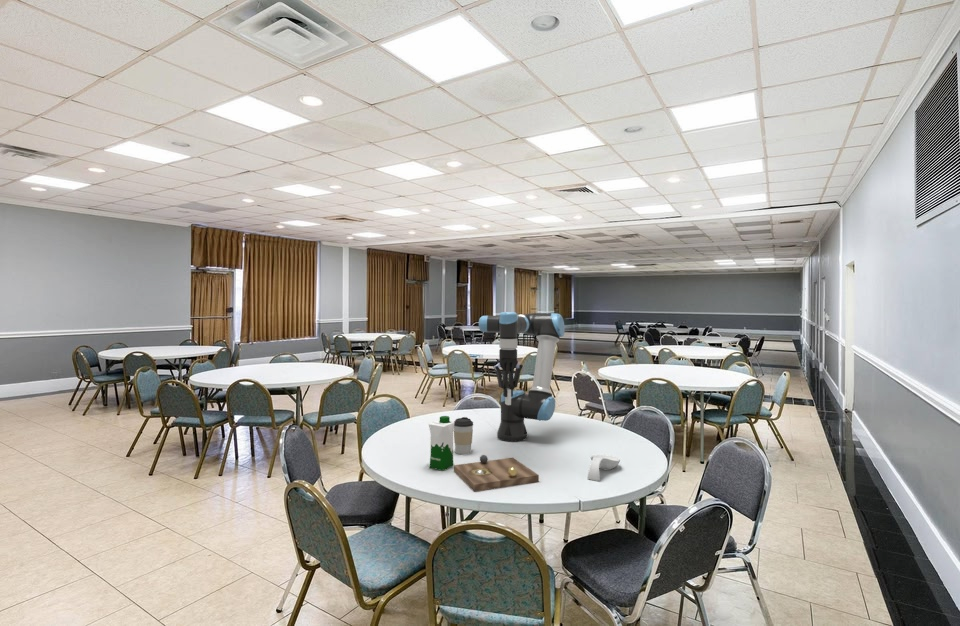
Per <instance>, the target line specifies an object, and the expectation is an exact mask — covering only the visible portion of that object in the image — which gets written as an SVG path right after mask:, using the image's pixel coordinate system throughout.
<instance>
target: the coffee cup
mask: <svg viewBox="0 0 960 626" xmlns="http://www.w3.org/2000/svg"><path fill="white" fill-rule="evenodd" d="M453 422H454V431H453V443H454V448H455V449H454V450H455V454H458V455H469V454H471V451H472V443H473V431H474V430H473V427H474V421H472V420H471V418H468V417H466V416H464V417H460V418H459V417H458V418H456V419H455V420H454V421H453Z"/></svg>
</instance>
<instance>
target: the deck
mask: <svg viewBox="0 0 960 626" xmlns="http://www.w3.org/2000/svg"><path fill="white" fill-rule="evenodd" d="M510 467H515V468H516V469H517V475H516V476H515V477H510V476H509V475H508V469H509V468H510ZM478 470H482V471H483V472H484V474H477V473H476V472H477V471H478ZM453 473H455V474H456V475H457V476H458V477H459V478H460V479H461V480H462V481H463V482H464V483H465V484H466V485H467V486H468V487H469V488H470V489H471V490H472V491H473V492H481V491H487V490H493V489H494V488H495V489H501V488H505V487H514V486H520V485H526V484H527V485H528V484H532V483H533V484H534V483H538V482H540V481H539V479H540V476H539V474H538V473H536V472H535V471H533V470H532V469H530V467H527V466H526V465H525V464H523V463H522V462H520V461H519V460H517V459H515V458H514V457H506V458H499V459H493V460H492V459H491V460H488V461H487V462H486V463H481V461H477V462H475V461H474V462H467V463H460V464H453Z"/></svg>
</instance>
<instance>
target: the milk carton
mask: <svg viewBox="0 0 960 626" xmlns="http://www.w3.org/2000/svg"><path fill="white" fill-rule="evenodd" d="M428 427H429V431H430V433H429V434H430V458H429V468H430V469H435V470H439V471H446V470H448V469H449V468H452V467H454V421H451V420H450V416H449V415H441V416H439V420H436V421H432V422H431V423H428Z"/></svg>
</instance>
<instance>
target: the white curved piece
mask: <svg viewBox="0 0 960 626" xmlns="http://www.w3.org/2000/svg"><path fill="white" fill-rule="evenodd" d="M589 457H590V461H591V462H590V465H589V470H588V473H587V480H589V479H590V481H596V482H600V481H601V476H600V473H601V472H600V470H603V469H606V470H607V469H610V470H612V469H614V468H616V467H617V466H619V464H620V461H621V459H620V458H619V457H617V456H613V455H606V454H594V455H590V456H589ZM599 468H600V469H599ZM606 470H605V471H606ZM607 471H608V470H607Z"/></svg>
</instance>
